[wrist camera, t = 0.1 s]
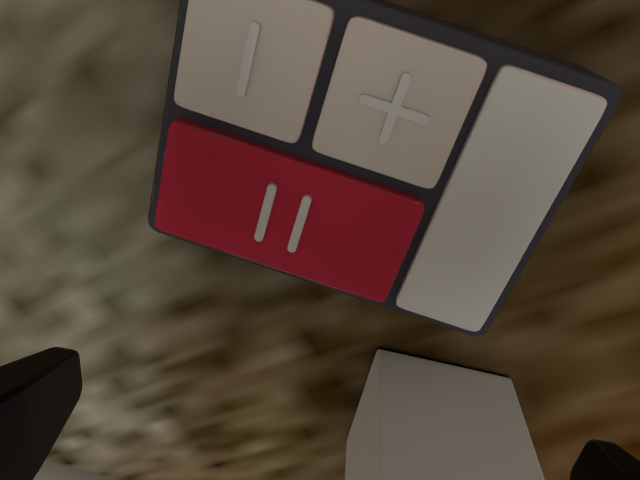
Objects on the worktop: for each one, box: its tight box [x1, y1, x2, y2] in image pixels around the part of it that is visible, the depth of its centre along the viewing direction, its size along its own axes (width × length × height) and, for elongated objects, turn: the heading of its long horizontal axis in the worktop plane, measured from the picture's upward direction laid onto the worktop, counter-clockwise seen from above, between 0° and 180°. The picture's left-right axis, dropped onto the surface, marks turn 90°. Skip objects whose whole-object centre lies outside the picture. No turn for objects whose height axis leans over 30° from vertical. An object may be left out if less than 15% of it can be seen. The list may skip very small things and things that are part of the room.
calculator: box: [148, 0, 621, 336], centre depth 21 cm, size 11×4×15 cm
